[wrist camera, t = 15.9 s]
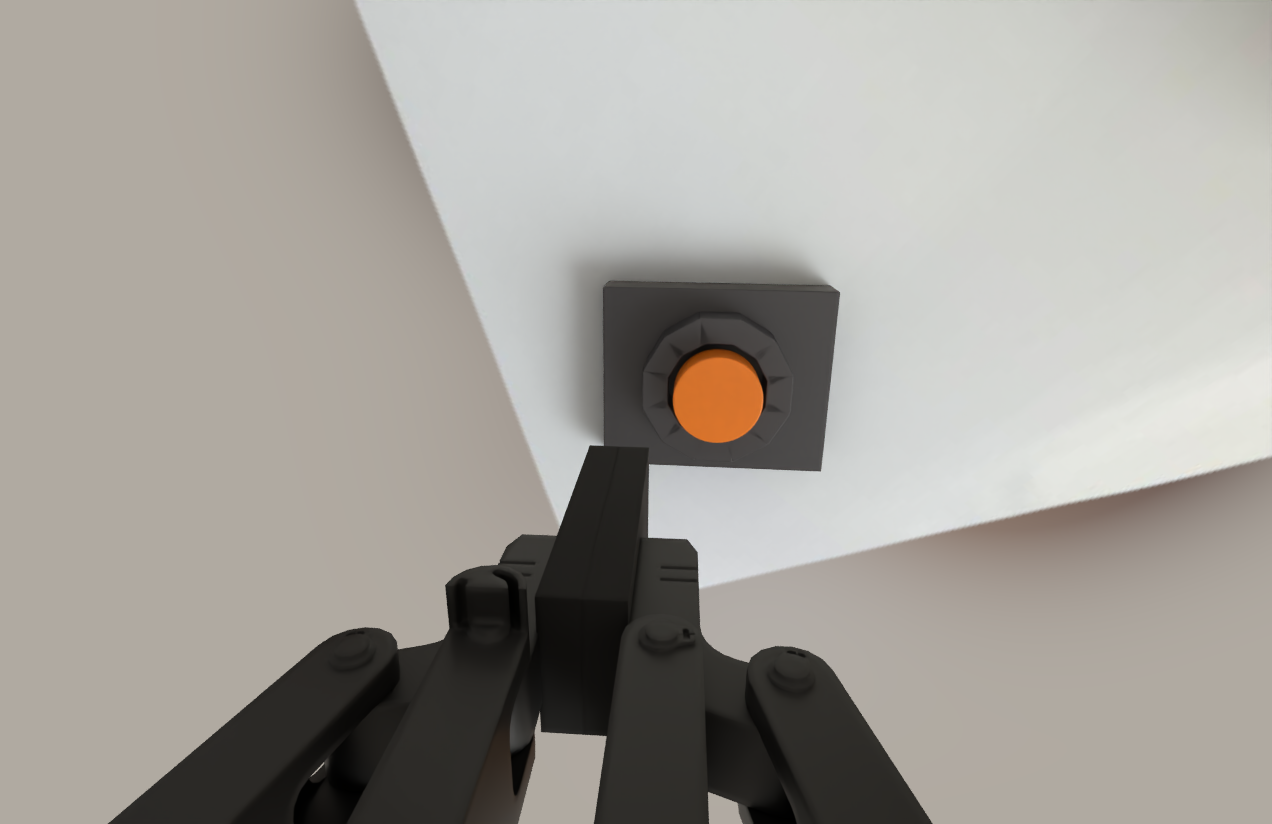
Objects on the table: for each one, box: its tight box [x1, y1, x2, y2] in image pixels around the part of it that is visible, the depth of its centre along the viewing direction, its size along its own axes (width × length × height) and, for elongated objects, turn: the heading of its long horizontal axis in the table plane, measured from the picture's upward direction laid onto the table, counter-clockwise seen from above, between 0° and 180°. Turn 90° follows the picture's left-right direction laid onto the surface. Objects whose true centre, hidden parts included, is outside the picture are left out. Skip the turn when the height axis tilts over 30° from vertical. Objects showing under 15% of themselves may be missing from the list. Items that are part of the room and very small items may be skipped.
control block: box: [603, 281, 840, 471], centre depth 33 cm, size 11×9×4 cm
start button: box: [673, 349, 763, 443], centre depth 30 cm, size 4×4×2 cm
